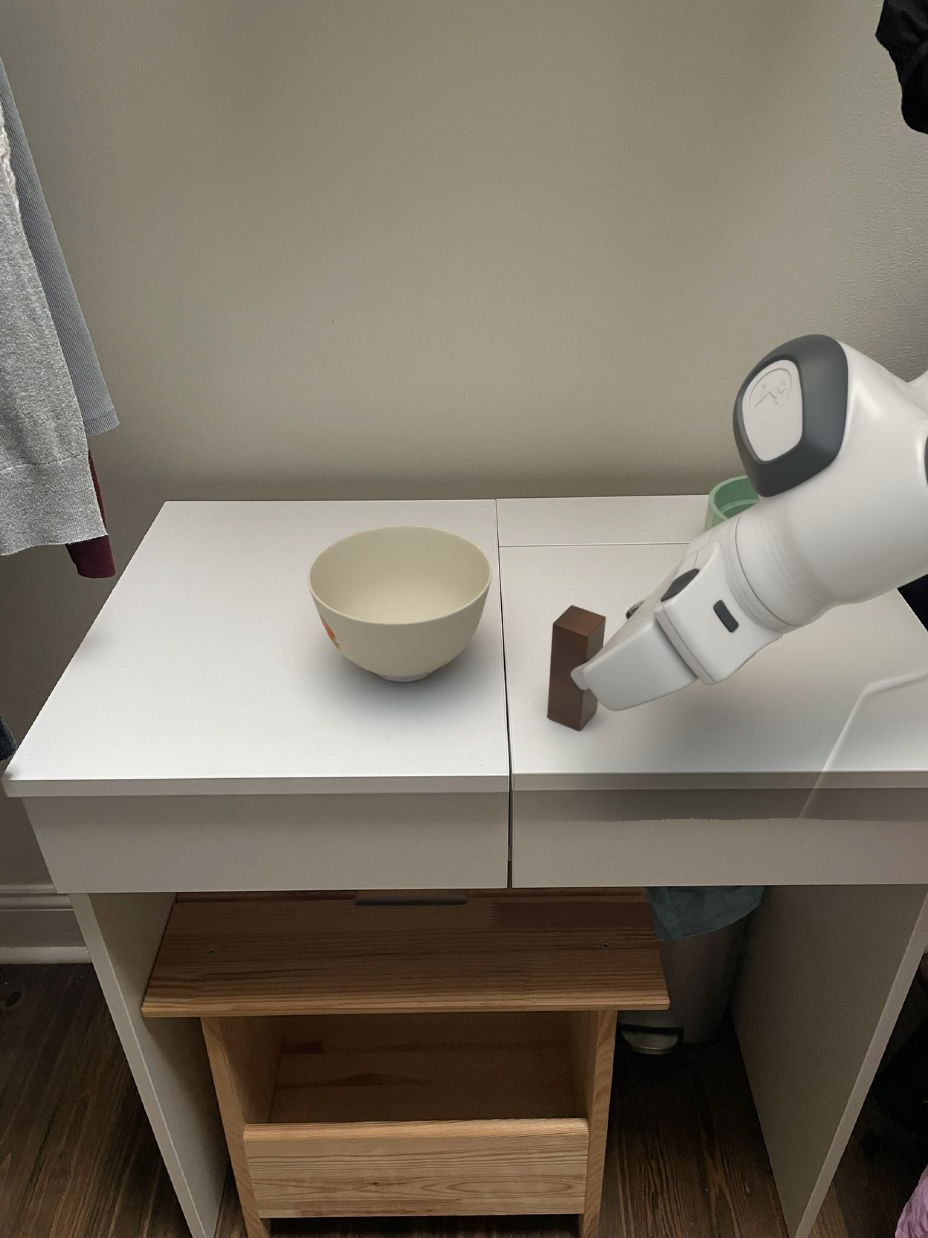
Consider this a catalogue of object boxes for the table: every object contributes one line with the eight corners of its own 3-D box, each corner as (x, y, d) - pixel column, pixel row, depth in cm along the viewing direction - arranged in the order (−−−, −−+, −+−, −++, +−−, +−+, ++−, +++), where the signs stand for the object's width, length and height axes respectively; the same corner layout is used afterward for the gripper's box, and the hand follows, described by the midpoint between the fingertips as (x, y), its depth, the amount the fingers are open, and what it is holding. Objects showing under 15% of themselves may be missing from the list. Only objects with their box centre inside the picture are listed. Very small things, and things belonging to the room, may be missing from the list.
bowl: (505, 708, 82) (508, 613, 77) (320, 727, 80) (309, 632, 75) (475, 605, 95) (475, 518, 89) (315, 620, 93) (305, 532, 87)
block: (597, 711, 82) (606, 616, 76) (579, 731, 80) (587, 636, 74) (564, 698, 83) (571, 604, 78) (546, 718, 81) (552, 623, 75)
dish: (864, 572, 100) (878, 522, 97) (752, 600, 96) (762, 549, 92) (780, 512, 111) (790, 465, 107) (676, 535, 107) (683, 487, 103)
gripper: (770, 487, 73) (640, 558, 83) (657, 615, 59) (519, 681, 69) (815, 553, 73) (681, 615, 83) (715, 695, 60) (569, 749, 70)
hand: (607, 646), depth 76 cm, fingers open, 8 cm apart
